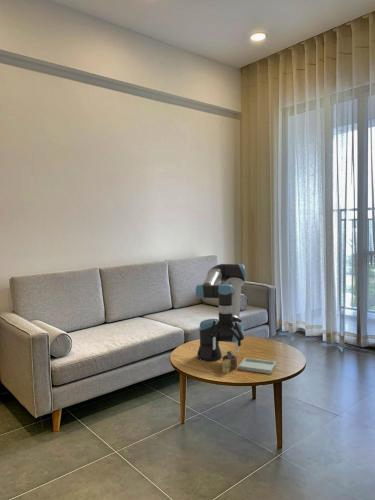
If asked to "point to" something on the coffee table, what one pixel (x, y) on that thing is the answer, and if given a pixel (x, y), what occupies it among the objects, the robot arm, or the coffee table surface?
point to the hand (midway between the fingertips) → (225, 350)
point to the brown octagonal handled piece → (229, 364)
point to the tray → (257, 365)
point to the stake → (229, 355)
